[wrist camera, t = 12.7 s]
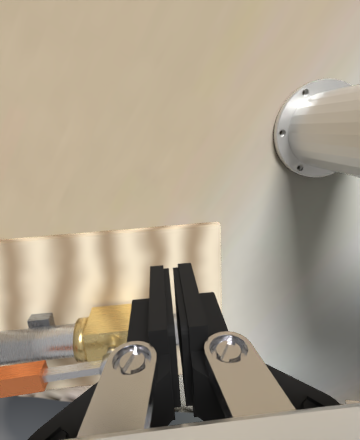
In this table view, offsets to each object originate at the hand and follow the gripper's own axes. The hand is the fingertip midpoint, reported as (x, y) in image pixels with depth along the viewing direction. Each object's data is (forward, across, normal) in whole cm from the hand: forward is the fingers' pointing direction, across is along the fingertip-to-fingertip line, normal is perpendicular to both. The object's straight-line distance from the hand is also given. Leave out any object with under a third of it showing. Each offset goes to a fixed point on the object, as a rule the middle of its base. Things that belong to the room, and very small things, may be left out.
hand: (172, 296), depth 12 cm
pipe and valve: (+28, +9, +21) cm, 36 cm away
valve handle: (+20, +14, +21) cm, 32 cm away
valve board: (+29, +9, +20) cm, 36 cm away
